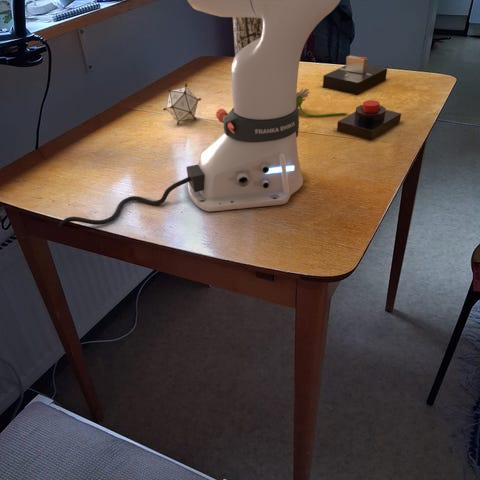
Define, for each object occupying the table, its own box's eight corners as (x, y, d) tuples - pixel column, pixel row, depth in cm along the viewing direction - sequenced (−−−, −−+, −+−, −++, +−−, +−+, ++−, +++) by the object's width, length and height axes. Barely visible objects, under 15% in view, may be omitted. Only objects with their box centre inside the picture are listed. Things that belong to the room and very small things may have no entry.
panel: (356, 95, 126) (358, 82, 123) (322, 87, 131) (323, 74, 129) (385, 80, 132) (387, 67, 130) (352, 73, 138) (353, 61, 136)
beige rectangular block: (345, 70, 131) (346, 55, 128) (348, 69, 132) (350, 54, 129) (362, 74, 128) (364, 58, 125) (365, 72, 129) (367, 57, 126)
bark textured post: (265, 131, 112) (262, 5, 95) (236, 130, 113) (228, 6, 96) (269, 120, 117) (267, -2, 100) (242, 119, 118) (235, -1, 101)
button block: (370, 140, 105) (373, 122, 102) (336, 130, 110) (338, 113, 107) (399, 123, 111) (402, 105, 108) (366, 114, 116) (368, 97, 113)
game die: (179, 137, 122) (149, 106, 116) (194, 113, 125) (165, 82, 119) (199, 126, 115) (168, 93, 110) (214, 101, 118) (185, 68, 112)
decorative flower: (346, 80, 113) (282, 85, 113) (348, 107, 113) (284, 111, 113) (341, 97, 121) (281, 101, 121) (342, 122, 120) (282, 126, 121)
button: (372, 115, 106) (373, 107, 105) (359, 111, 108) (359, 103, 107) (381, 110, 108) (382, 102, 107) (368, 106, 110) (369, 98, 109)
